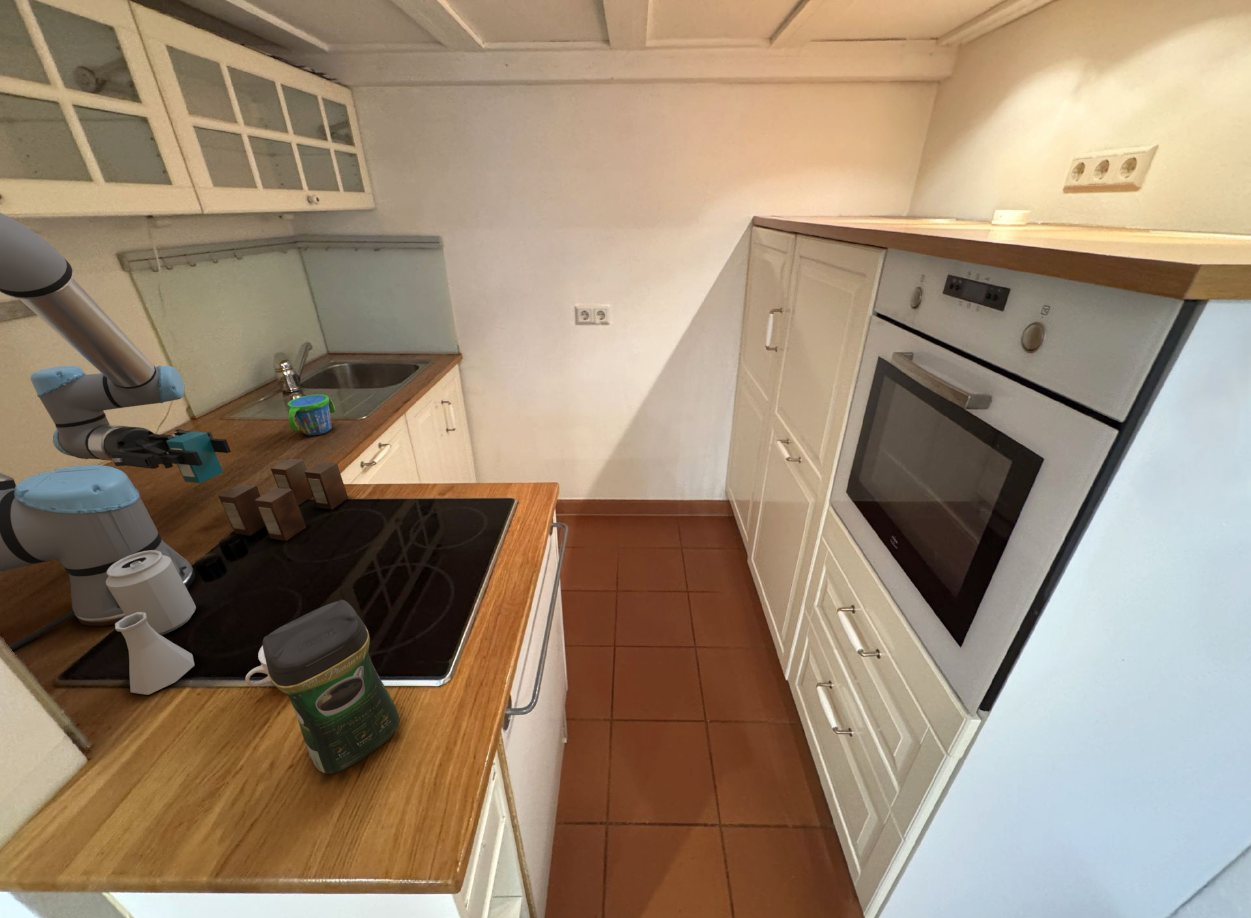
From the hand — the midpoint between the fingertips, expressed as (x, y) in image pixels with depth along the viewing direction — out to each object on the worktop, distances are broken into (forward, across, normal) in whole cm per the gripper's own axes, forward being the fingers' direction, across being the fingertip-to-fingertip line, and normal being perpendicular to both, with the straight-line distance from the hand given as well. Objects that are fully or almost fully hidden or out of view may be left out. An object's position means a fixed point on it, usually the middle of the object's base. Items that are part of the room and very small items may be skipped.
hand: (212, 452), depth 98 cm
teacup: (+44, +30, -17) cm, 56 cm away
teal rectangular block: (-5, 0, -6) cm, 8 cm away
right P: (+13, -11, -17) cm, 24 cm away
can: (+15, +26, -17) cm, 34 cm away
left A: (+4, +1, -17) cm, 17 cm away
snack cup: (-24, -46, -16) cm, 55 cm away
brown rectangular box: (+4, -11, -17) cm, 20 cm away
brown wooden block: (+13, +1, -17) cm, 21 cm away
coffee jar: (+59, +36, -17) cm, 71 cm away
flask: (+25, +34, -17) cm, 45 cm away
